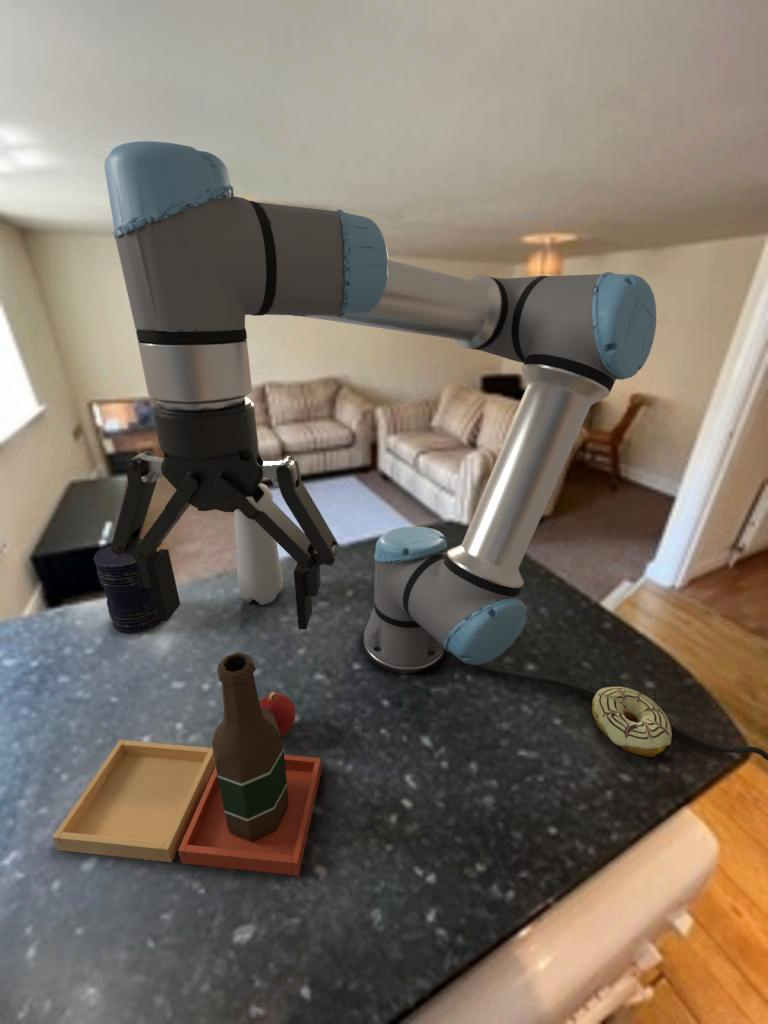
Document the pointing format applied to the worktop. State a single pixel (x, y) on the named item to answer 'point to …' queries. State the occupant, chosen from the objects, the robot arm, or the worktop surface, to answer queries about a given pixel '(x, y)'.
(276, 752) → the beer bottle
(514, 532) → the robot arm
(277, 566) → the bottle
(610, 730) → the decorated donut
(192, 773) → the birch tray
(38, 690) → the worktop surface
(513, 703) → the worktop surface
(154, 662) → the worktop surface
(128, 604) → the storage jar
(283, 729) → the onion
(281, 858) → the terracotta tray
